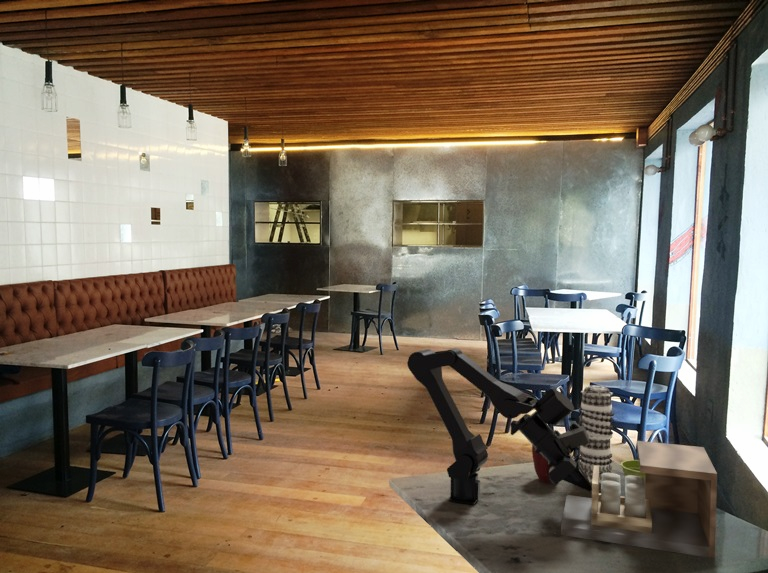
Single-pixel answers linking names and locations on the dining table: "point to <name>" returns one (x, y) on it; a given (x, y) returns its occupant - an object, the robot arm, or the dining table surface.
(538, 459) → the mug
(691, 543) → the wooden display stand
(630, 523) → the tray
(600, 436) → the white patterned cylinder
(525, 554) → the dining table surface
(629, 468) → the plant pot
